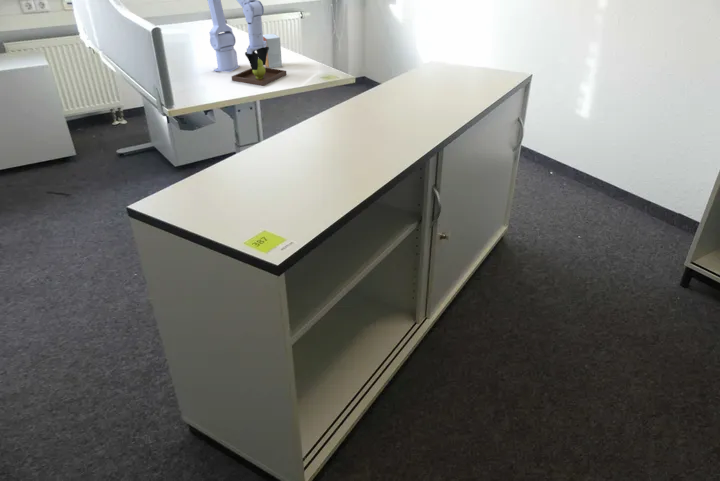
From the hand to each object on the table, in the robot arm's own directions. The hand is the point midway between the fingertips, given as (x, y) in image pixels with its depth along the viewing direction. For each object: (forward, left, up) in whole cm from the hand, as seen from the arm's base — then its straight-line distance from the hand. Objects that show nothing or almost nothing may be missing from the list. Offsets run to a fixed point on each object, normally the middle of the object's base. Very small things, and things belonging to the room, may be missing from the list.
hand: (258, 67), depth 232 cm
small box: (-20, -3, -5) cm, 21 cm away
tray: (0, 0, -5) cm, 5 cm away
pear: (0, 0, -4) cm, 4 cm away
